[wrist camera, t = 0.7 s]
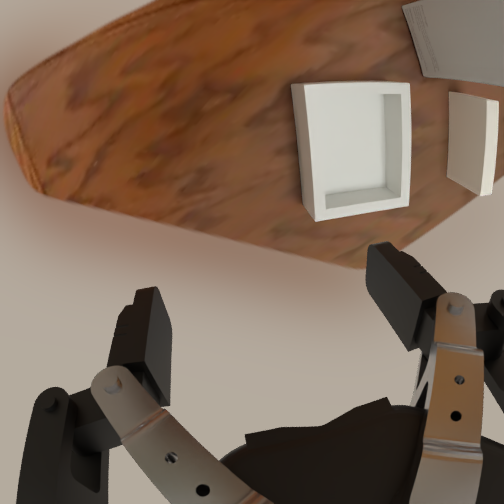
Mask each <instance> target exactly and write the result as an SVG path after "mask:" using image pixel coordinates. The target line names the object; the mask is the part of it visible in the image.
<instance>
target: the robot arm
mask: <svg viewBox="0 0 504 504" xmlns="http://www.w3.org/2000/svg"><path fill="white" fill-rule="evenodd" d="M366 286H367V290H368V292H369V294H370V295H371V297H372V298H373V300H374V301H375V303H376V304H377V306H378V307H379V308H380V310H381V311H382V313H383V314H384V316H385V317H386V319H387V320H388V322H389V323H390V325H391V326H392V328H393V329H394V331H395V332H396V334H397V335H398V337H399V338H400V340H401V341H402V343H403V344H404V346H405V347H406V349H407V350H408V352H409V351H411V350H414V349H417V348H420V349H421V351H422V352H421V355H420V359H419V365H418V371H417V376H416V382H415V388H414V392H413V397H412V400H411V404H410V406H406V405H392V406H391V404H390V402H389V400H388V398H387V397H385V398H382V399H379V400H376V401H373V402H370V403H367V404H364V405H361V406H358V407H355V408H353V409H352V410H350V411H348V412H346V413H345V414H343V415H341V416H339V417H338V418H336V419H334V420H332V421H330V422H329V423H327V424H325V425H322V426H318V427H317V426H315V427H281V428H275V429H271V430H266V431H261V432H255V433H250V434H245V439H246V444H244V445H242V446H240V447H238V448H236V449H234V450H233V451H231V452H229V453H228V454H227V455H225V456H224V457H223V458H222V459H220V460H219V461H218V460H217V459H216V458H215V457H214V456H213V455H212V454H211V453H210V452H208V450H206V449H205V448H204V447H203V446H202V445H201V444H200V443H199V442H198V441H197V440H196V439H195V438H194V437H193V436H192V435H191V434H190V433H189V432H188V431H187V430H186V429H185V428H184V427H183V426H182V425H181V424H180V423H179V422H178V421H177V420H176V419H175V418H174V417H173V416H172V415H171V414H170V413H169V412H168V411H167V410H166V409H162V408H161V407H164V406H170V385H171V384H170V383H171V352H172V327H171V322H170V318H169V316H168V313H167V310H166V308H165V305H164V302H163V300H162V297H161V294H160V292H159V289H158V288H157V287H156V286H155V287H149V288H144V289H138V290H137V291H136V293H135V298H134V302H133V305H127V306H125V308H124V309H123V311H122V312H121V313H120V314H119V316H118V320H117V324H116V328H115V332H114V337H113V340H112V345H111V349H110V354H109V358H108V363H107V368H105V369H103V370H101V371H100V372H99V373H98V374H97V375H96V376H95V377H94V379H93V381H92V383H91V387H90V388H88V389H86V390H83V391H80V392H77V393H75V394H72V395H68V393H67V392H66V391H65V390H64V389H62V388H59V387H52V388H48V389H46V390H45V391H43V392H42V393H41V394H40V395H39V396H38V398H37V399H36V401H35V403H34V407H33V411H32V415H31V419H30V424H29V428H28V433H27V437H26V442H25V447H24V452H23V458H22V464H21V470H20V477H19V484H18V491H17V501H16V504H108V468H109V449H111V448H114V447H117V446H120V445H124V447H125V448H126V450H127V451H128V452H129V454H130V455H131V456H132V458H133V459H134V460H135V462H136V463H137V464H138V465H139V467H140V468H141V469H142V470H143V472H144V473H145V474H146V475H147V477H148V478H149V479H150V480H151V482H152V483H153V484H154V485H155V486H156V487H157V489H158V490H159V491H160V492H161V493H162V494H163V495H164V497H165V498H166V499H167V500H168V501H169V502H170V503H171V504H504V445H503V444H500V443H498V442H495V441H493V440H491V439H488V438H486V437H484V436H481V429H482V417H483V398H484V396H483V395H484V382H485V383H486V385H487V387H488V388H489V390H490V391H491V393H492V395H493V396H494V398H495V399H496V401H497V403H498V404H499V406H500V408H501V409H502V411H503V413H504V290H497V291H495V292H494V293H493V294H492V296H491V299H490V301H489V303H478V304H473V303H472V302H471V300H469V299H468V298H467V297H466V296H464V295H462V294H459V293H454V292H450V293H447V292H446V291H445V289H444V288H443V287H442V286H441V285H440V284H439V283H438V282H437V281H436V280H435V279H434V278H433V277H432V276H431V275H430V274H429V273H428V272H427V271H426V270H425V269H424V268H423V266H421V265H420V263H419V262H417V260H416V259H415V258H414V257H412V256H410V255H408V254H406V253H405V252H403V251H400V252H399V251H398V250H397V249H396V248H395V247H394V246H393V245H392V244H391V243H390V242H388V241H386V242H381V243H376V244H371V245H369V247H368V252H367V267H366Z"/></svg>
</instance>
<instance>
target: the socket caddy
mask: <svg viewBox="0 0 504 504" xmlns="http://www.w3.org/2000/svg"><path fill="white" fill-rule="evenodd" d="M291 91H292V100H293V108H294V117H295V126H296V136H297V146H298V156H299V167H300V178H301V190H302V203H303V206H304V207H305V208H306V210H307V211H308V212H309V214H310V215H311V217H312V218H313V219H314V221H315V222H317V221H322V220H328V219H334V218H340V217H345V216H351V215H357V214H363V213H369V212H375V211H381V210H387V209H393V208H399V207H405V206H409V192H410V172H411V101H410V83H403V82H394V81H330V82H312V83H298V84H291Z"/></svg>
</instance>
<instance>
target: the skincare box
mask: <svg viewBox="0 0 504 504" xmlns="http://www.w3.org/2000/svg"><path fill="white" fill-rule="evenodd" d="M402 9H403V12H404V15H405V17H406V20H407V23H408V26H409V29H410V32H411V35H412V38H413V41H414V45H415V48H416V51H417V55H418V58H419V61H420V65H421V69H422V73H423V76H424V77H431V78H444V79H454V80H463V81H470V82H477V83H484V84H490V85H496V86H502V87H504V0H420V1H416V2H413V3H410V4H406V5H403V6H402Z"/></svg>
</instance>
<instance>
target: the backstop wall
mask: <svg viewBox="0 0 504 504" xmlns="http://www.w3.org/2000/svg"><path fill="white" fill-rule="evenodd" d="M498 115H499V101H495V100H491V99H487V98H483V97H479V96H474V95H470V94H465V93H459V92H449V144H448V163H447V177H448V178H449V179H451V180H453V181H455V182H457V183H458V184H460V185H462V186H464V187H465V188H467V189H469V190H470V191H472V192H474V193H475V194H477V195H479V196H484V195H491V194H492V188H493V180H494V172H495V163H496V152H497V138H498Z"/></svg>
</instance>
